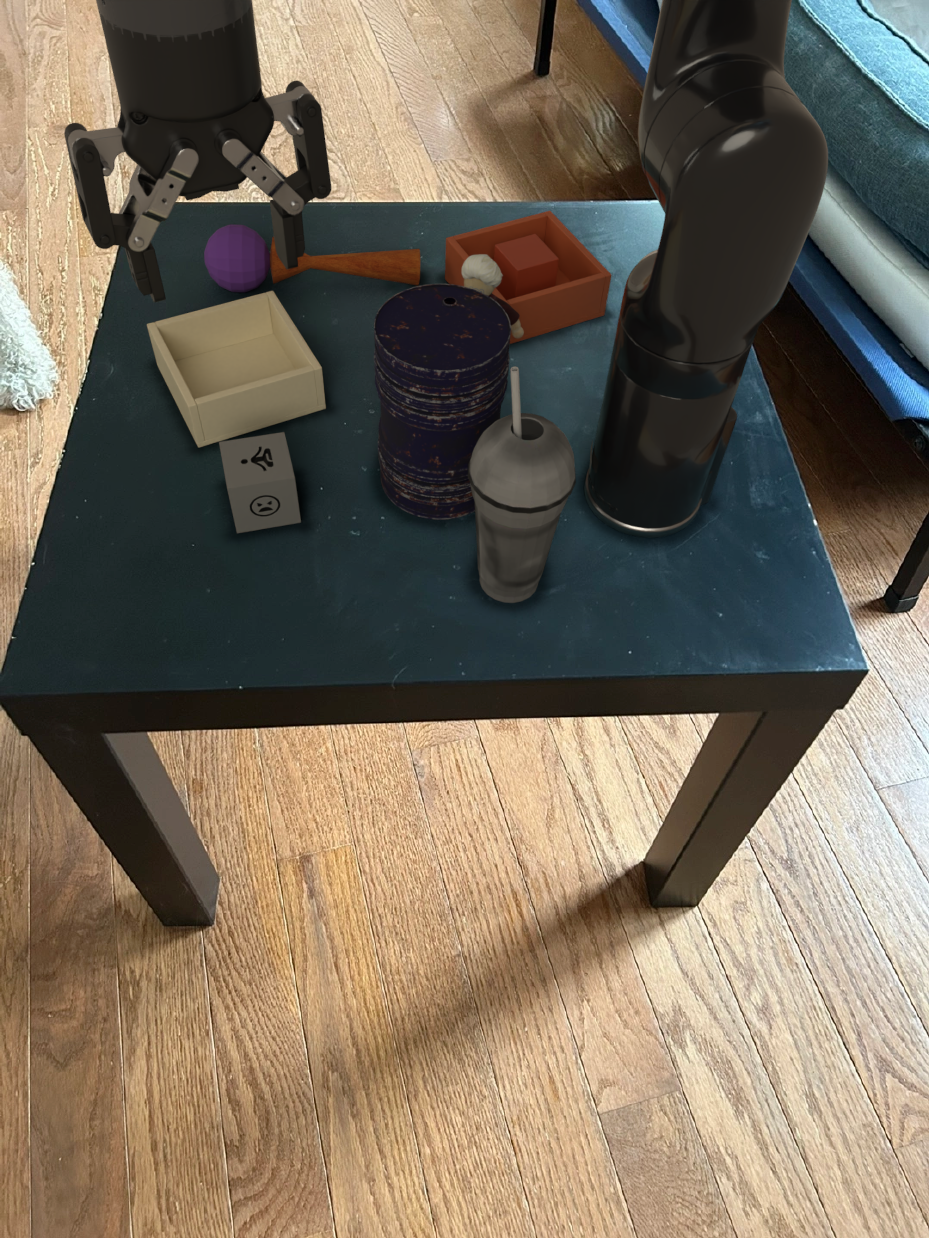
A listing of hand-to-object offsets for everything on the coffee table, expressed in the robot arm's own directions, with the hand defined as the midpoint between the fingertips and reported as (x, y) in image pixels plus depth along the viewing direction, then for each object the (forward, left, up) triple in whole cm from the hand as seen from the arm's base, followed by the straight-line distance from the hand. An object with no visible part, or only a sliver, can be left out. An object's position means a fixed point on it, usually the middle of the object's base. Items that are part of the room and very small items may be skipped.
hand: (223, 277), depth 62 cm
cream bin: (-3, -14, -21) cm, 25 cm away
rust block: (-32, -15, -20) cm, 41 cm away
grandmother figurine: (-22, -6, -21) cm, 31 cm away
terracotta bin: (-32, -15, -21) cm, 41 cm away
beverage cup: (-14, +15, -21) cm, 29 cm away
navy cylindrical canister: (-14, +3, -21) cm, 25 cm away
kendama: (-15, -25, -21) cm, 36 cm away
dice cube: (0, 0, -21) cm, 21 cm away
